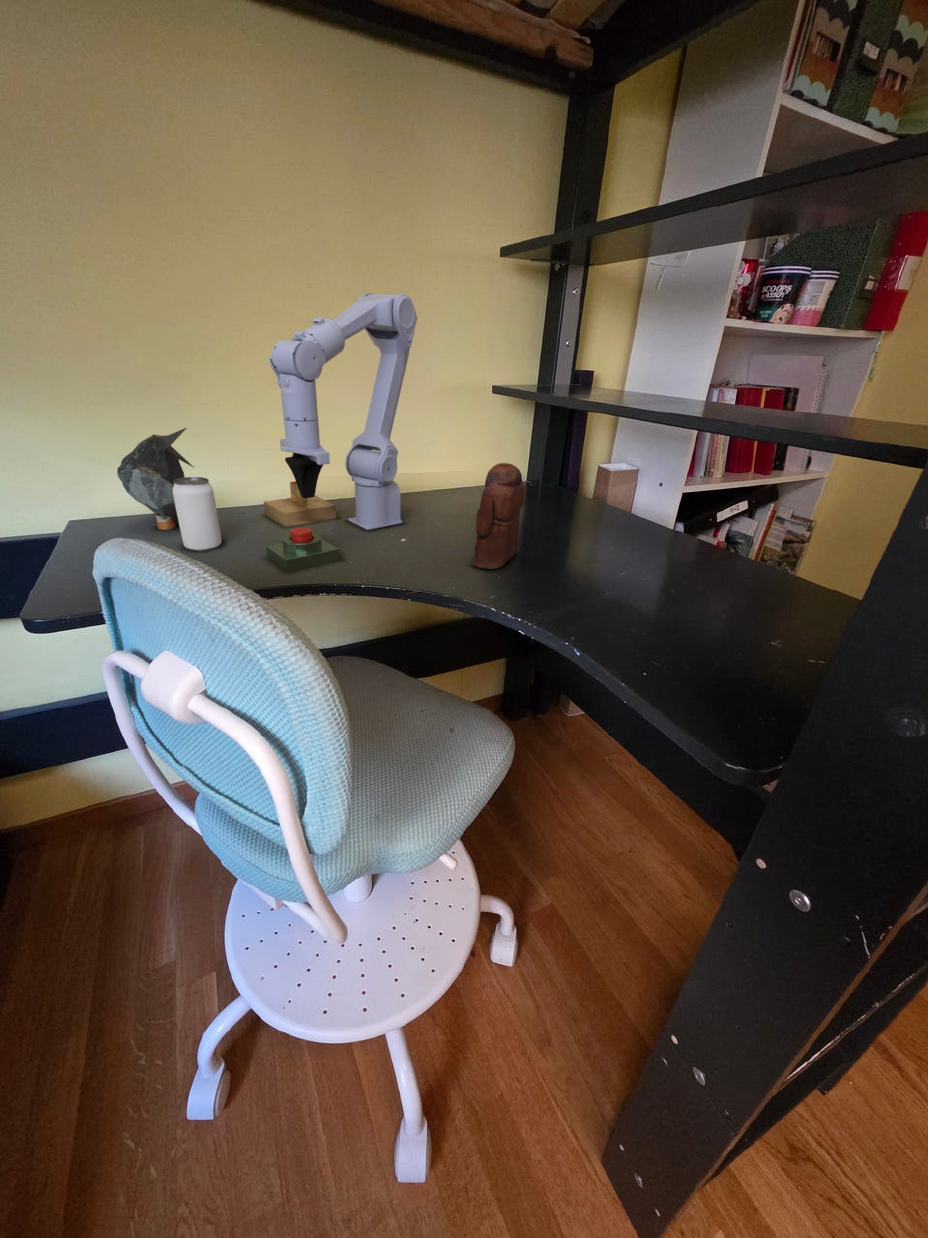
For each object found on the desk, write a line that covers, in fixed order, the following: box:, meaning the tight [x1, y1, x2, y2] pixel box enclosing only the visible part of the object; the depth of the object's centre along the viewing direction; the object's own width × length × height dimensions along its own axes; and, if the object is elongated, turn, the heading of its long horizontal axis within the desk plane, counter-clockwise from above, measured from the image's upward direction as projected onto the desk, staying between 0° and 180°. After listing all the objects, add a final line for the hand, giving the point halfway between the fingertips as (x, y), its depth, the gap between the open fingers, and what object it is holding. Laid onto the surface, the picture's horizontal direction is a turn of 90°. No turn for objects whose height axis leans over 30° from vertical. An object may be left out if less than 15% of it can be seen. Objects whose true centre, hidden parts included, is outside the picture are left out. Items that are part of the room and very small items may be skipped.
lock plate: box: [263, 495, 337, 528], centre depth 113 cm, size 12×10×3 cm
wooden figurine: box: [472, 462, 526, 570], centre depth 94 cm, size 12×6×18 cm, turn 156°
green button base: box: [265, 532, 340, 573], centre depth 92 cm, size 10×8×4 cm
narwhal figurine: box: [117, 427, 194, 531], centre depth 101 cm, size 14×15×18 cm
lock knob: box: [289, 480, 308, 506], centre depth 111 cm, size 5×1×4 cm, turn 42°
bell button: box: [289, 527, 313, 542], centre depth 90 cm, size 4×4×2 cm
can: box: [173, 476, 223, 552], centre depth 92 cm, size 6×6×12 cm
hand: (307, 496), depth 95 cm, fingers closed
